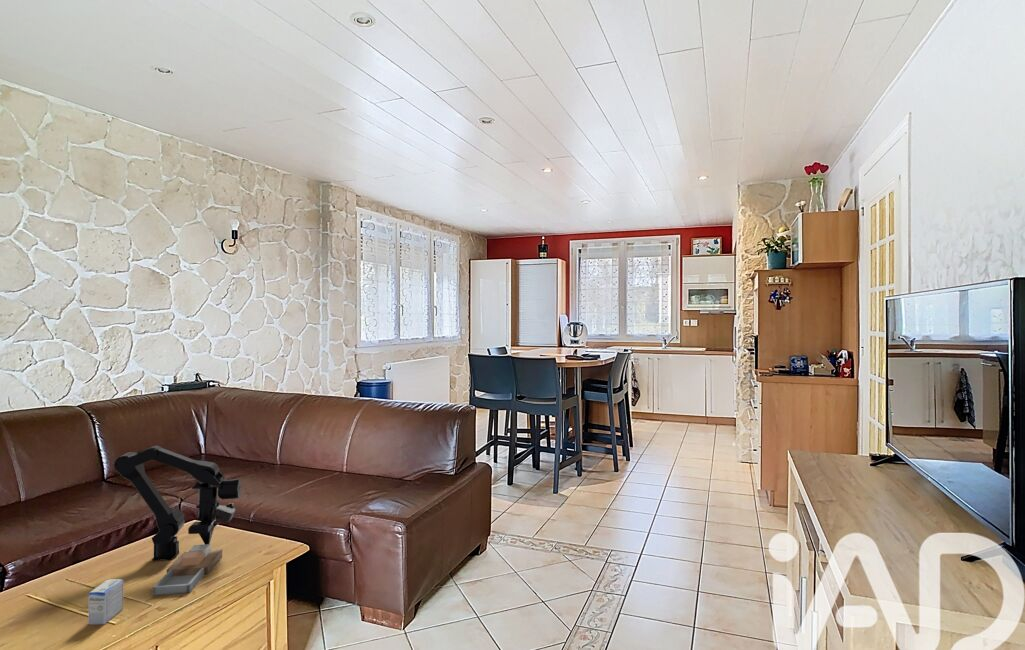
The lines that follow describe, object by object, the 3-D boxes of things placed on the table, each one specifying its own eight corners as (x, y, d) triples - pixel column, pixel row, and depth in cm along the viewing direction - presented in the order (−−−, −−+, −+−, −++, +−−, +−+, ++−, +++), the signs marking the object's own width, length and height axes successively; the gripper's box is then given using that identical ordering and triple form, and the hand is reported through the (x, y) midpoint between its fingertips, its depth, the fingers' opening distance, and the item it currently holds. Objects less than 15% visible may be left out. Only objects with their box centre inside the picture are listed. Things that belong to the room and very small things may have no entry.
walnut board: (166, 577, 176) (166, 569, 176) (184, 559, 190) (184, 551, 190) (207, 574, 178) (207, 567, 178) (222, 556, 192) (222, 549, 192)
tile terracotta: (181, 565, 179) (181, 558, 179) (187, 559, 184) (187, 551, 184) (198, 564, 180) (198, 557, 180) (204, 558, 185) (204, 550, 185)
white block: (188, 558, 184) (188, 550, 184) (194, 552, 189) (194, 545, 189) (204, 557, 185) (205, 550, 185) (210, 551, 190) (210, 544, 190)
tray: (152, 595, 164) (152, 587, 164) (170, 577, 176) (170, 569, 176) (189, 593, 166) (189, 584, 166) (204, 575, 178) (204, 567, 178)
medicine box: (106, 610, 156) (107, 579, 156) (123, 609, 156) (123, 578, 156) (87, 625, 148) (88, 592, 148) (105, 624, 148) (105, 592, 148)
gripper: (224, 507, 187) (223, 554, 187) (240, 491, 205) (240, 533, 205) (187, 509, 185) (187, 556, 185) (207, 492, 203) (207, 535, 203)
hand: (207, 544), depth 195 cm, fingers closed
